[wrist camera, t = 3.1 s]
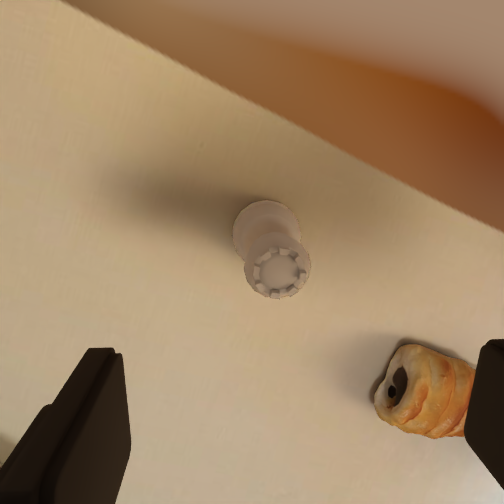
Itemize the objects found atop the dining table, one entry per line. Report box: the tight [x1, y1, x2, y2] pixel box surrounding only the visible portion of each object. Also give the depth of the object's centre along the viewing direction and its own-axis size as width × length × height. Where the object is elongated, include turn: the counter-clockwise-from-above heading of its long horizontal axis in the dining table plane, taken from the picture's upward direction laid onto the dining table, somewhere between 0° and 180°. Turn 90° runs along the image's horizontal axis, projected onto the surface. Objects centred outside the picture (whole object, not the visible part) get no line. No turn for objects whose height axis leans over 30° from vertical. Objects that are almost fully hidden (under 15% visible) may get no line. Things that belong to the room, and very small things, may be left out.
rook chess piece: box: [232, 200, 311, 299], centre depth 21 cm, size 4×4×8 cm
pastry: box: [374, 344, 476, 439], centre depth 28 cm, size 9×7×4 cm
